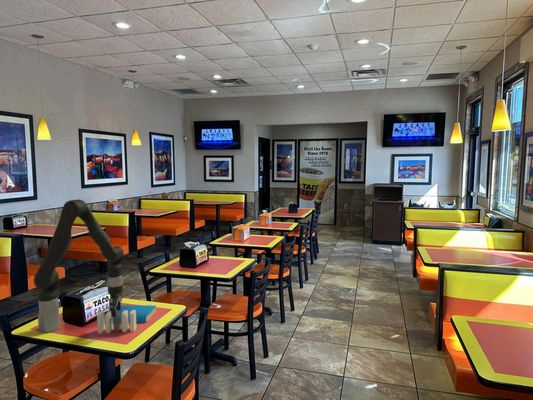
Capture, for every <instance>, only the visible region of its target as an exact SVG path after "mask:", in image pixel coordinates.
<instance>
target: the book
mask: <svg viewBox="0 0 533 400" xmlns="http://www.w3.org/2000/svg"><path fill="white" fill-rule="evenodd" d="M124 310H128V323H130V312H131V311H132V310H136V323H147V322H148V321H149V320H150V319H151V318H152V317H153V316H154V314H155V313H156V311H157V305H155V304H154V305H151V304H149V305H143V304H142V305H141V304H138V305H137V304H129V305H128V304H127V305H125V304H121V310H116V311H120V322H121V323H122V315H121V314H122V313H123V311H124ZM109 311H111V310H109ZM104 320H105V314H104ZM112 321H113V323H114V319H113V317H112Z"/></svg>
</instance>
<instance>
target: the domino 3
mask: <svg viewBox="0 0 533 400" xmlns="http://www.w3.org/2000/svg"><path fill="white" fill-rule="evenodd" d="M113 319H114V322H113V331H114V332H113V333H115V334H116V333H120V330H122V322H120V311H116V316H115V317H113Z"/></svg>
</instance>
